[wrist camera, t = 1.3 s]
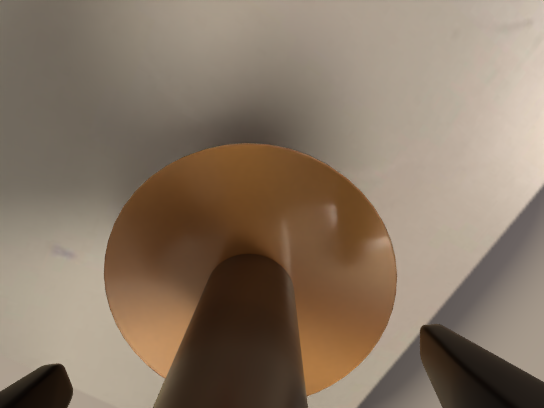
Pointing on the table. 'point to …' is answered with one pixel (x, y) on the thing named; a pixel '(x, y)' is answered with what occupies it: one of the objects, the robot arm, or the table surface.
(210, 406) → the lid
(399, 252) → the table surface
